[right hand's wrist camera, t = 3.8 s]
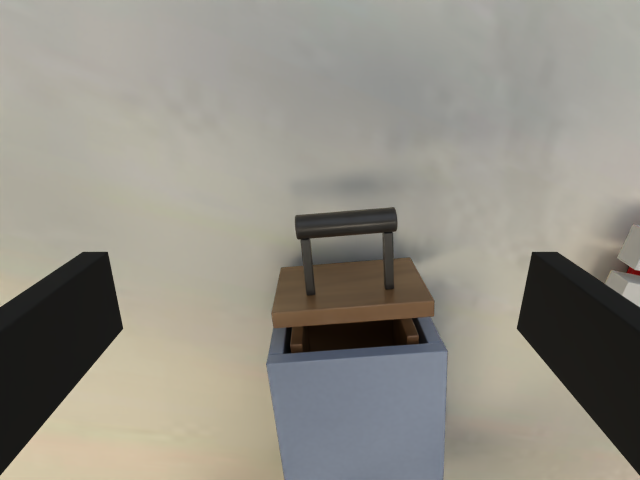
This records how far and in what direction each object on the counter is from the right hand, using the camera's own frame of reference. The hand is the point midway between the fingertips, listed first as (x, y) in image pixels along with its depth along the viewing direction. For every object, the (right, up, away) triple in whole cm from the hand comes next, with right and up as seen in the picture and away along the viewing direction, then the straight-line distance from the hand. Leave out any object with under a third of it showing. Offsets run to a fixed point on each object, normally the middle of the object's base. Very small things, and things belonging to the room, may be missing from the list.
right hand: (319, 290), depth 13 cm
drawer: (+3, -6, +21) cm, 22 cm away
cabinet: (+3, -12, +24) cm, 27 cm away
